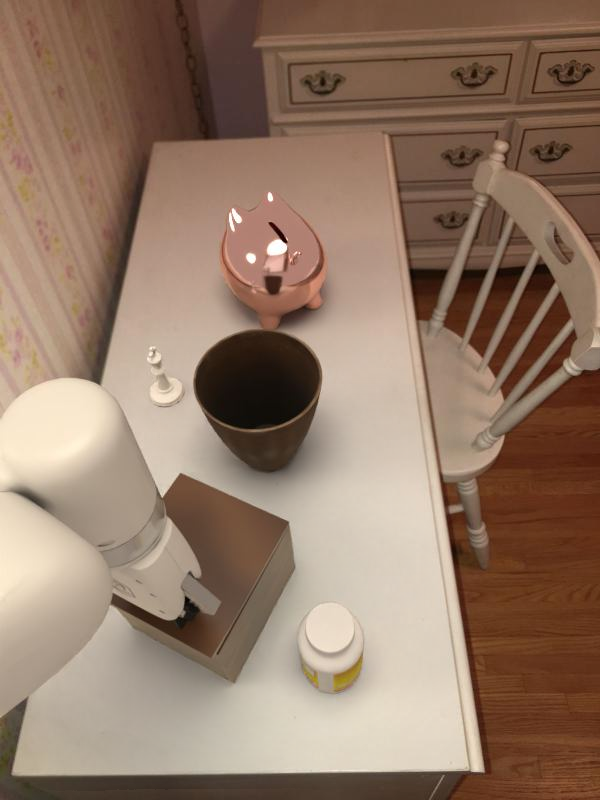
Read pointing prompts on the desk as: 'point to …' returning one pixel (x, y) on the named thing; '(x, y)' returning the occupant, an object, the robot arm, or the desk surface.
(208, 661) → the chest
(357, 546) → the desk surface
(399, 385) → the desk surface
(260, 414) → the flower pot
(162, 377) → the chess piece
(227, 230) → the piggy bank
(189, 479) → the brown wooden box lid
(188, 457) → the desk surface
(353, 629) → the supplement bottle
